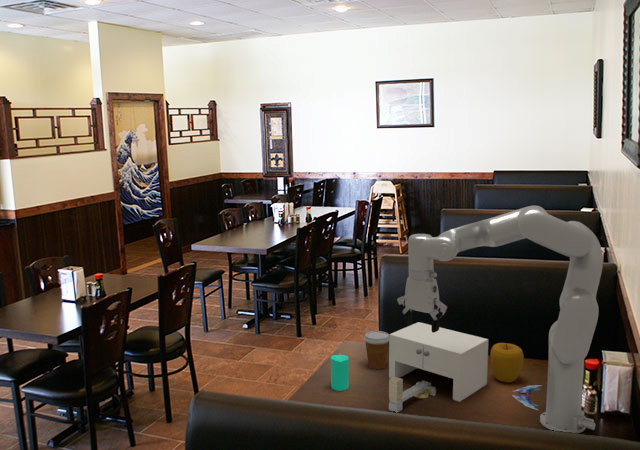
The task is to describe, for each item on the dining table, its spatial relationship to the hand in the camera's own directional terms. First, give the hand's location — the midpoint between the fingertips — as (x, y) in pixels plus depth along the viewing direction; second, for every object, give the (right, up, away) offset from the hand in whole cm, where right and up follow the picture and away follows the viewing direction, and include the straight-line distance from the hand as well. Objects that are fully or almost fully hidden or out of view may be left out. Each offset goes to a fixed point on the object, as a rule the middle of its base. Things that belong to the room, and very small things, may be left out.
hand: (421, 328), depth 185 cm
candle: (-25, -23, +18) cm, 38 cm away
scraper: (-2, -25, +7) cm, 26 cm away
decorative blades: (+36, -24, +10) cm, 45 cm away
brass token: (+2, -24, +11) cm, 27 cm away
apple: (+33, -22, +23) cm, 46 cm away
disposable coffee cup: (-10, -20, +36) cm, 43 cm away
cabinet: (+9, -22, +22) cm, 32 cm away
